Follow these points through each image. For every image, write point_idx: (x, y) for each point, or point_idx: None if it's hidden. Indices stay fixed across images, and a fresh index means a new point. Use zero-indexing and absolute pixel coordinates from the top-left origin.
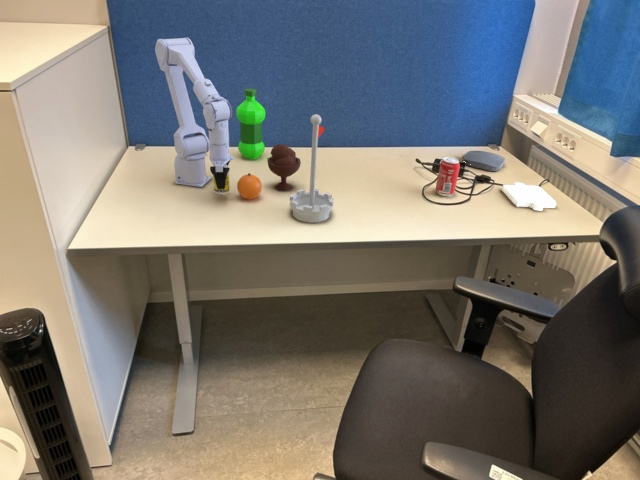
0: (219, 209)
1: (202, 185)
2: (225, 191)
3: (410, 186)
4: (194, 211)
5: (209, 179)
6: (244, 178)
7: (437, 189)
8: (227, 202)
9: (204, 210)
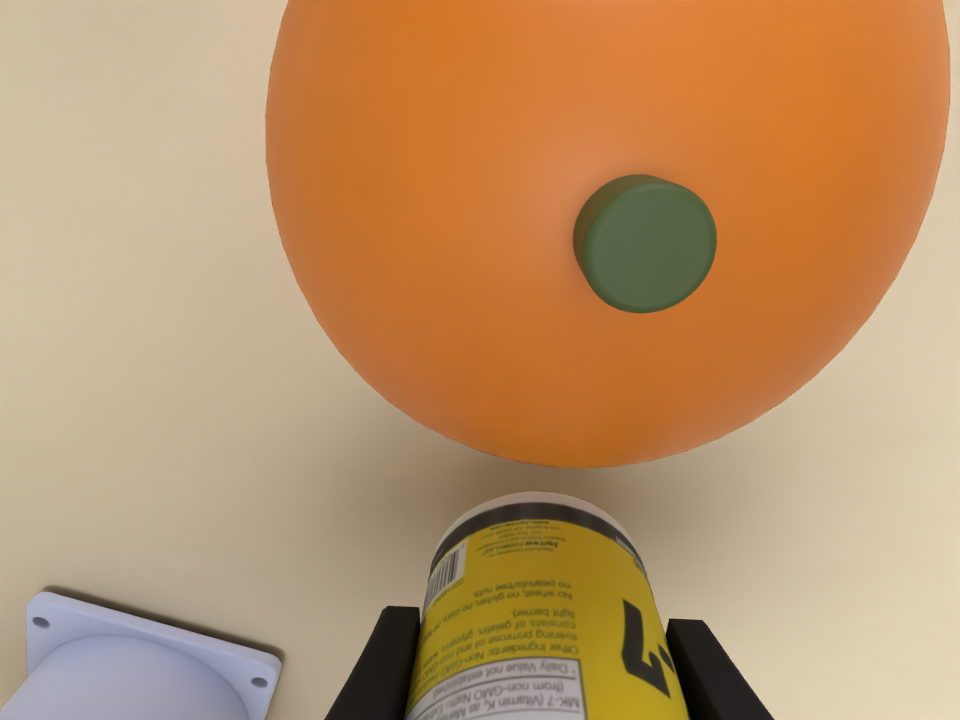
0: (818, 522)
1: (260, 662)
2: (637, 555)
3: None
4: (790, 693)
5: (86, 607)
6: (737, 394)
7: None
8: None
9: (795, 633)
